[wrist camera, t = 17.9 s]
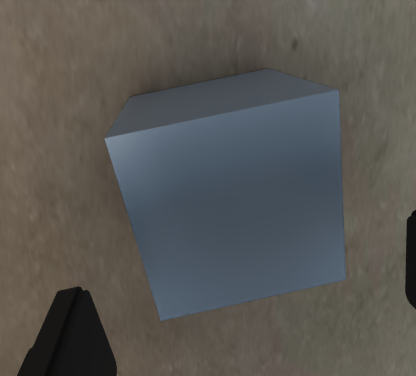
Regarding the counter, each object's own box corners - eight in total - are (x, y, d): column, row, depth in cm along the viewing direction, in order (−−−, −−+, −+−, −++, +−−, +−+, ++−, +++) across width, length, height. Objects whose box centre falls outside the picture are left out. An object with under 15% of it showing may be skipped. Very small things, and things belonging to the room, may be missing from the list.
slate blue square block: (281, 194, 23) (345, 279, 15) (162, 219, 23) (161, 320, 14) (267, 68, 20) (338, 89, 12) (129, 96, 20) (104, 138, 11)
